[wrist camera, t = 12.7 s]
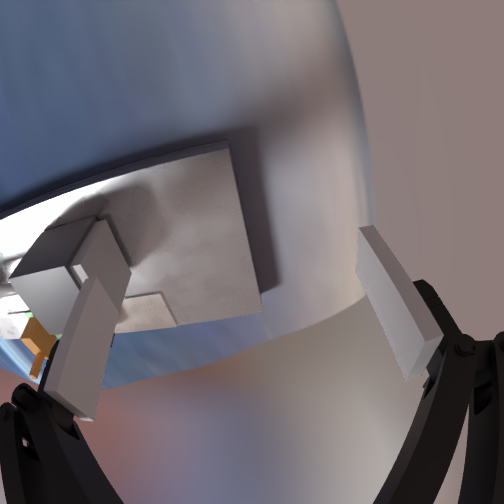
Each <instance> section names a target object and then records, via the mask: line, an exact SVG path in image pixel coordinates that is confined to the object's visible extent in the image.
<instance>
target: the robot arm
mask: <svg viewBox="0 0 504 504" xmlns="http://www.w3.org/2000/svg"><path fill="white" fill-rule="evenodd" d="M356 273H357V275H358V277H359V279H360V281H361V283H362V285H363V287H364V289H365V291H366V294H367V296H368V297H369V300H370V302H371V304H372V306H373V308H374V310H375V312H376V314H377V316H378V319H379V321H380V323H381V325H382V327H383V330H384V332H385V334H386V336H387V338H388V341H389V343H390V345H391V347H392V350H393V352H394V354H395V357H396V359H397V361H398V364H399V366H400V368H401V371H402V373H403V376H404V378H405V381H408V380H411V379H414V378H416V377H419V376H422V375H423V373H424V371H425V369H426V368H427V371H428V373H429V377H428V379H427V380H426V382H425V383H424V385H423V388H425V389H424V392H423V395H422V398H421V401H420V404H419V406H418V409H417V412H416V414H415V417H414V420H413V422H412V425H411V427H410V430H409V432H408V434H407V437H406V439H405V441H404V444H403V446H402V448H401V450H400V453H399V455H398V457H397V459H396V461H395V463H394V465H393V467H392V470H391V471H390V473H389V475H388V478H387V479H386V481H385V483H384V485H383V487H382V488H381V490H380V492H379V494H378V495H377V497H376V499H375V501H374V502H373V504H433V503H434V501H435V499H436V497H437V494H438V492H439V490H440V488H441V485H442V483H443V481H444V478H445V476H446V473H447V471H448V468H449V466H450V463H451V460H452V458H453V455H454V452H455V449H456V446H457V443H458V440H459V437H460V434H461V430H462V427H463V423H464V420H465V416H466V412H467V408H468V404H469V420H468V436H467V448H466V457H465V465H464V472H463V479H462V485H461V490H460V495H459V500H458V504H504V331H503V332H500V333H499V334H497V335H496V337H495V338H494V340H486V341H475V340H474V339H473V338H472V337H471V336H469V335H467V334H462V333H461V331H460V330H459V328H458V326H457V325H456V323H455V322H454V320H453V318H452V317H451V315H450V313H449V312H448V310H447V309H446V307H445V305H443V302H442V301H441V299H440V298H439V297H438V294H437V293H436V291H435V290H434V288H433V287H432V286H431V285H429V284H428V283H427V282H426V281H424V280H423V279H422V280H418V281H415V282H412V281H411V279H410V278H409V276H408V275H407V273H406V272H405V270H404V269H403V268H402V266H401V264H400V263H399V261H398V260H397V258H396V257H395V255H394V254H393V252H392V251H391V250H390V248H389V247H388V245H387V244H386V242H385V241H384V240H383V238H382V237H381V235H380V234H379V233H378V231H377V230H376V228H375V227H374V226H373V225H371V226H366V227H360V228H358V247H357V262H356ZM118 316H119V312H118V310H117V309H116V307H115V306H114V304H113V302H112V301H111V299H110V298H109V296H108V294H107V293H106V291H105V290H104V288H103V286H102V285H101V283H100V281H99V280H98V278H97V277H92V278H87V279H85V281H84V283H83V285H82V287H81V290H80V292H79V294H78V296H77V299H76V301H75V303H74V306H73V308H72V311H71V313H70V315H69V318H68V320H67V323H66V326H65V328H64V331H63V333H62V336H61V339H60V340H57V341H56V343H55V344H54V346H53V347H52V349H51V351H50V354H49V357H48V360H47V363H46V367H45V369H44V372H43V375H42V378H41V381H40V384H39V388H38V391H37V392H36V391H35V390H34V389H33V388H32V387H31V386H29V385H28V384H26V383H22V384H20V385H18V386H17V387H16V388H15V390H14V392H13V393H12V398H11V401H12V404H14V405H15V406H16V407H14V406H13V405H12V404H11V403H9V402H7V403H4V404H2V405H1V407H0V465H1V473H2V480H3V486H4V492H5V497H6V501H7V504H124V503H123V502H122V500H121V499H120V497H119V496H118V494H117V493H116V491H115V490H114V488H113V487H112V485H111V484H110V482H109V481H108V479H107V478H106V476H105V474H104V473H103V471H102V469H101V468H100V466H99V464H98V463H97V461H96V459H95V457H94V456H93V454H92V452H91V450H90V448H89V447H88V445H87V443H86V441H85V439H84V437H83V435H82V433H81V431H80V429H79V427H78V425H77V423H76V422H75V421H74V420H73V417H74V415H75V416H77V417H78V418H79V419H81V420H85V421H95V416H96V410H97V404H98V399H99V394H100V389H101V385H102V380H103V375H104V371H105V367H106V362H107V358H108V354H109V350H110V346H111V342H112V338H113V334H114V330H115V327H116V323H117V320H118ZM22 440H24V441H26V442H27V447H25V446H24V445H23V441H22Z"/></svg>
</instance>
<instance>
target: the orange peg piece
mask: <svg viewBox="0 0 504 504" xmlns="http://www.w3.org/2000/svg"><path fill="white" fill-rule="evenodd" d="M56 338H57V337H56V336H55V335H49V333H48V332H47V331H46V330H45V329H44V327H43V326H42V325H41V324H40V322H39V321H38V320H37V319H36V317H30V318H29V320H28V322H27V324H26V326H25V328H24V331H23V333H22V335H21V337H20V339H21V341H22V342H23V343H24V344H25V345H26V346H27V347H28V348H29V349H30V350H31V351H32V353H33V354H34V355H35V356H36V357H35V360H34V362H33V365H32V368H31V371H30V374H29V375H30V376H31V377H32V378H33V379H37V378H38V375H39V372H40V369H41V366H42V363H43V360H44V359H48V357H49V354H50V351H51V349H52V347H53V346H54V344H55V341H56Z"/></svg>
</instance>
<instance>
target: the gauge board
mask: <svg viewBox="0 0 504 504" xmlns="http://www.w3.org/2000/svg"><path fill="white" fill-rule="evenodd" d="M93 216H96V218H97V221H102V220H105V219H106V221H107V223H108V225H109V227H110V229H111V232H112V234H113V236H114V238H115V240H116V242H117V244H118V246H119V249H120V251H121V253H122V255H123V257H124V259H125V261H126V263H127V265H128V267H129V269H130V271H131V273H132V275H131V278H130V281H129V284H128V287H127V290H126V293H125V296H124V300H123V303H122V306H121V309H120V313H119V316H118V320H117V323H116V327H115V330H114V332H115V333H125V332H135V331H144V330H153V329H161V328H170V327H177V325H185V324H192V323H199V322H206V321H213V320H220V319H226V318H232V317H239V316H245V315H251V314H257V313H262V312H263V307H262V301H261V294H260V289H259V284H258V280H257V275H256V270H255V265H254V261H253V256H252V251H251V246H250V242H249V237H248V232H247V227H246V223H245V218H244V213H243V208H242V204H241V199H240V194H239V189H238V185H237V180H236V175H235V170H234V166H233V161H232V156H231V151H230V147H229V142H228V139H227V140H223V141H218V142H213V143H208V144H204V145H199V146H195V147H191V148H187V149H182V150H178V151H174V152H170V153H167V154H163V155H159V156H155V157H152V158H148V159H144V160H141V161H138V162H134V163H131V164H127V165H124V166H121V167H118V168H114V169H111V170H108V171H105V172H102V173H99V174H96V175H93V176H90V177H87V178H85V179H82V180H79V181H76V182H73V183H71V184H68V185H65V186H63V187H60V188H58V189H55V190H52V191H50V192H47V193H45V194H43V195H40V196H38V197H35V198H33V199H31V200H28V201H26V202H24V203H21V204H19V205H17V206H15V207H12V208H10V209H8V210H6V211H4V212H2V213H0V285H2V284H7V283H10V282H9V280H8V278H9V277H10V275H11V274H12V272H13V271H14V269H15V268H16V266H17V265H18V263H19V262H20V260H21V259H22V258H23V256H24V255H25V253H26V252H27V251H28V249H29V248H30V246H31V245H32V244H33V242H34V241H35V240H36V238H37V237H38V236H39V234H40V233H41V232H44V231H47V230H50V229H53V228H56V227H59V226H63V225H66V224H69V223H72V222H76V221H79V220H82V219H86V218H89V217H93ZM30 317H35V316H34V315H33V314H32V312H31V311H30V310H29V308H28V307H27V306H26V304H25V303H24V302H23V300H22V299H21V298H20V296H19V295H15V296H9V297H4V298H0V335H1V336H2V337H3V338H4V339H20V337H21V335H22V333H23V331H24V328H25V326H26V324H27V322H28V320H29V318H30ZM55 336H56V337H57V338H61V336H62V334H56V335H55Z"/></svg>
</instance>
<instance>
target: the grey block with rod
mask: <svg viewBox="0 0 504 504" xmlns="http://www.w3.org/2000/svg"><path fill="white" fill-rule="evenodd" d="M131 275H132V273H131V271H130V269H129V267H128V265H127V263H126V261H125V259H124V257H123V255H122V253H121V251H120V249H119V246H118V244H117V242H116V240H115V238H114V236H113V234H112V232H111V229H110V227H109V225H108V223H107V221H106V219H105V220H102V221H97V218H96V216H93V217H89V218H86V219H82V220H79V221H76V222H72V223H69V224H66V225H63V226H59V227H56V228H53V229H50V230H47V231H44V232H41V233H40V234H39V236H38V237H37V238H36V240H35V241H34V242H33V244H32V245H31V246H30V248H29V249H28V251H27V252H26V253H25V255H24V256H23V258H22V259H21V260H20V262H19V263H18V265H17V266H16V268H15V269H14V271H13V272H12V274H11V275H10V277H9V278H8V280H9V282H10V283H7V284H2V285H0V298H4V297H9V296H15V295H19V296H20V298H21V299H22V300H23V302H24V303H25V304H26V306H27V307H28V308H29V310H30V311H31V312H32V314H33V315H34V316H35V317H36V319H37V320H38V321H39V322H40V324H41V325H42V326H43V327H44V329H45V330H46V331H47V332H48V333H49V335H56V334H62V333H63V331H64V328H65V326H66V323H67V320H68V318H69V315H70V313H71V311H72V308H73V306H74V303H75V301H76V299H77V296H78V294H79V292H80V290H81V287H82V285H83V283H84V281H85V279H87V278H92V277H97V278H98V280H99V281H100V283H101V285H102V286H103V288H104V290H105V291H106V293H107V294H108V296H109V298H110V299H111V301H112V302H113V304H114V306H115V307H116V309H117V310H118V312H119V313H120V309H121V306H122V303H123V300H124V296H125V293H126V290H127V287H128V284H129V281H130V278H131ZM114 335H115V332H114V334H113V338H112V342H111V346H110V348H111V347H112V343H113V339H114Z"/></svg>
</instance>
